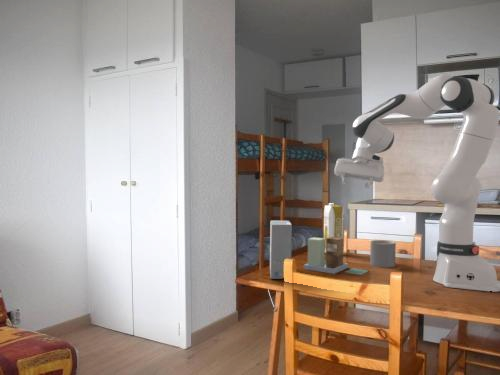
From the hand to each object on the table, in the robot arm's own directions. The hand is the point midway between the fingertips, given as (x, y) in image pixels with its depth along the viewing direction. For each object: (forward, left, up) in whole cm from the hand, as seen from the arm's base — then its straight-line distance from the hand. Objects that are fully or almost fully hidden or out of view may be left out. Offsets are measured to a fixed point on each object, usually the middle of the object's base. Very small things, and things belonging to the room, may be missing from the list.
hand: (355, 185), depth 183 cm
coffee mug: (-10, -9, -34) cm, 36 cm away
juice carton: (+18, -19, -34) cm, 42 cm away
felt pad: (-6, +11, -33) cm, 36 cm away
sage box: (+9, +16, -33) cm, 38 cm away
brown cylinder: (+4, +11, -33) cm, 35 cm away
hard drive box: (+17, +31, -34) cm, 49 cm away
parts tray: (+6, +13, -33) cm, 36 cm away
